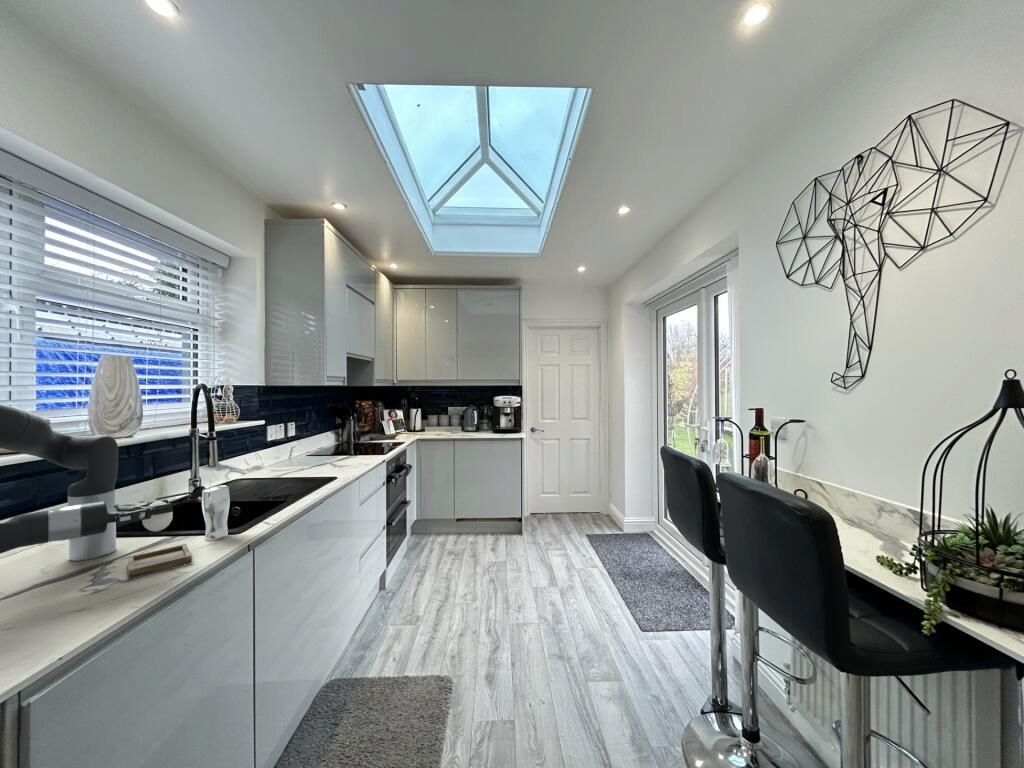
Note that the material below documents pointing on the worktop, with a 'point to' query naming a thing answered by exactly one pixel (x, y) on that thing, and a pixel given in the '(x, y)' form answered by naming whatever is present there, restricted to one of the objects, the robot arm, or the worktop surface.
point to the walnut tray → (158, 560)
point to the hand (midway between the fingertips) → (169, 505)
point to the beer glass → (215, 511)
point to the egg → (158, 519)
